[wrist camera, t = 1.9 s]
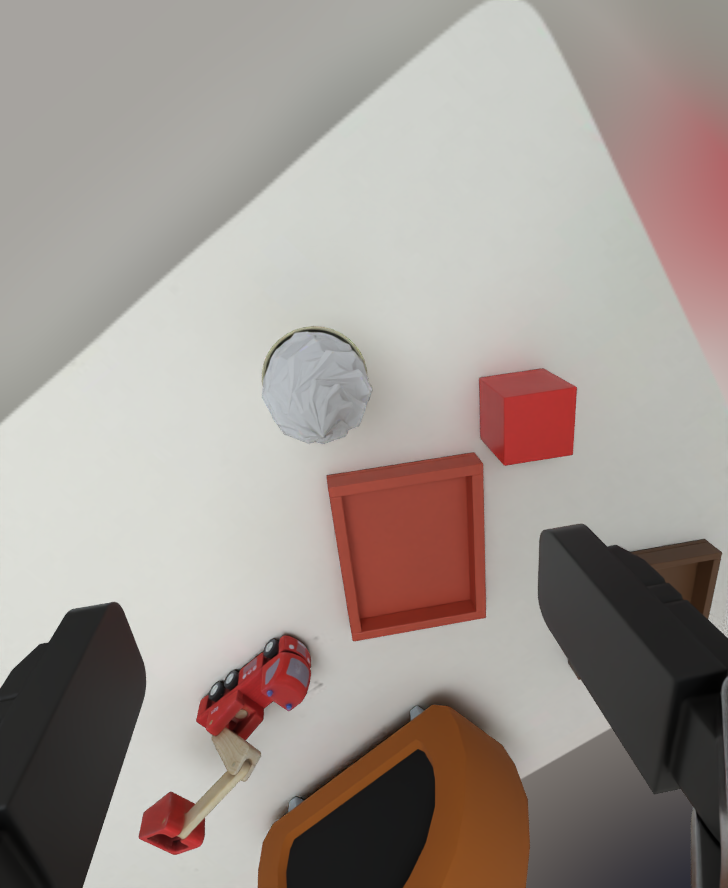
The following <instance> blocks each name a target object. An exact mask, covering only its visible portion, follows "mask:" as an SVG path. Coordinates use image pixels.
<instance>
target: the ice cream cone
mask: <svg viewBox="0 0 728 888" xmlns="http://www.w3.org/2000/svg"><path fill="white" fill-rule="evenodd" d="M262 385H263V393H262V398H263V400H264V402H265V404H266V406H267V408H268V409H269V411H270V413H271V415H272V417H273V420H274V421H275V422H276V424H277V425H278V426H279V428H280V429H281V430H282V432H283V433H284V434H285V435H288V436H290V437H293V438H295V439H298V440H301V441H303V442H306V443H313V442H317V443H321V444H325V443H328V442H331V441H334V440H337V439H340V438H342V437H345V436H346V435H347V433H348V430H350V429H353V428H355V427H358V426H359V425H360V422H361V420H362V417H363V414H364V412H365V409H366V405H367V402H368V401H369V399H370V395H371V392H372V387H371V385H370V383H369V382H368V377H367V368H366V365H365V361H364V359H363V356H362V354H361V352H360V351H359V349H358V348H357V347H356V345H355V344H354V343H353V342H352V341H351V340H350V339H349V338H347V337H346V336H344V335H343V334H341V333H339V332H337V331H335V330H333V329H329V328H325V327H316V326H312V327H303V328H300V329H297V330H294V331H292V332H290V333H288V334H286V335H285V336H283V337H282V338H280V339H279V340H278V341H277V342H276V343H275V344H274V345H273V346H272V348H271V349H270V351H269V353H268V354H267V356H266V359H265V361H264V364H263V369H262Z"/></svg>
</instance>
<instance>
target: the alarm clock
mask: <svg viewBox="0 0 728 888" xmlns="http://www.w3.org/2000/svg"><path fill="white" fill-rule="evenodd" d="M410 714H411V721H410V722H409V723H407V724H406V725H405V726H403V727H402V728H401V729H399V730H398V731H396V732H395V733H394V734H392V735H391V736H390V737H388V738H387V739H386V740H384V741H383V742H382V743H380V744H379V745H378V746H376V747H375V748H374V749H372V750H371V751H370V752H368V753H367V754H366V755H364V756H363V757H362V758H360V759H359V760H358V761H356V762H355V763H354V764H352V765H351V766H350V767H348V768H347V769H346V770H344V771H343V772H342V773H340V774H339V775H338V776H336V777H335V778H334V779H332V780H331V781H330V782H328V783H327V784H326V785H324V786H323V787H322V788H320V789H319V790H318V791H316V792H315V793H314V794H312V795H311V796H310V797H308V798H307V799H306V800H302V799H300V798H298V797H297V796H296V797H295V798H293V799H292V800H291V801H290V802H289V810H288V813H287V814H286V815H284V816H283V817H282V818H280V819H279V820H278V821H276V822H275V823H274V824H273V825H272V827H271V828H270V830H269V832H268V834H267V836H266V838H265V839H264V841H263V845H262V851H261V857H260V863H259V869H258V888H526V878H527V870H528V860H529V849H530V839H529V818H528V799H527V796H526V793H525V791H524V788H523V785H522V782H521V780H520V777H519V774H518V771H517V769H516V766H515V764H514V762H513V761H512V759H511V758H510V756H509V755H508V753H507V752H506V750H505V749H504V747H503V746H502V745H501V744H500V743H499V742H497V741H496V740H495V739H493V738H492V737H490V736H489V735H488V734H486V733H485V732H484V731H482V730H481V729H480V728H478V727H477V726H476V725H474V724H473V723H472V722H470V721H469V720H468V719H466V718H465V717H464V716H462V715H461V714H459V713H458V712H457V711H455V710H454V709H453V708H451V707H449V706H442V705H431V706H430V707H429V708H427V709H426V710H425V711H424V710H423V709H421V708H420V707H419V706H416V707H414V708H413V709H412V710H410Z"/></svg>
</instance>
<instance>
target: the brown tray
mask: <svg viewBox="0 0 728 888" xmlns="http://www.w3.org/2000/svg"><path fill="white" fill-rule="evenodd" d="M631 553H633V554H635V555H637V556H639V557H640V558H642V559H644V560H645V561H646V562H647V563H648V564H650V565H651V566H652V567H653V568H654V569H655V570H656V571H657V572H658V573H659V574H660V575H661V576H662V577H663V578H664V579H665V582H666V583H670V584H671V585H672V586H673V587H674V588H675V589H676V590H677V591H678V592H679V593H680V594H681V595H682V598H683V599H684V600H688V601H689V602H690V603H691V604H692V605H693V606H694V607H695V608H696V609H697V610H698V611H699V612H700V613H701V614H703V615H704V616H705V617H706V618H707V619H708V617H709V613H710V608H711V603H712V598H713V594H714V589H715V584H716V579H717V575H718V570H719V565H720V560H721V555H722V552H721V551H720V550H718V549H717V548H716V547H714V546H713V545H712V544H710V543H709V542H708V541H707V540H705V539H703V540H697V541H691V542H685V543H680V544H674V545H668V546H662V547H657V548H651V549H645V550H639V551H634V552H631ZM568 664H569V665H570V667H571V668H572V670H573V671H574V673H575V675H576V676H577V678H578V679H579V680H580V677H579V675H578V674H577V672H576V671H575V669H574V668H573V666H572V664H571V663H570V661H569V660H568Z"/></svg>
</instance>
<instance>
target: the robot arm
mask: <svg viewBox="0 0 728 888" xmlns="http://www.w3.org/2000/svg"><path fill="white" fill-rule="evenodd" d="M538 600H539V605H540V609H541V613H542V616H543V618H544V621H545V623H546V625H547V626H548V628H549V630H550V631H551V633H552V634H553V636H554V638H555V639H556V641H557V642H558V644H559V646H560V647H561V649H562V650H563V652H564V653H565V655H566V657H567V658H568V660H569V661H570V663H571V664H572V666H573V668H574V669H575V671H576V672H577V674H578V675H579V677H580V679H581V680H582V682H583V683H584V685H585V686H586V688H587V690H588V691H589V693H590V694H591V696H592V697H593V699H594V701H595V702H596V704H597V705H598V707H599V709H600V710H601V712H602V713H603V715H604V716H605V718H606V720H607V721H608V723H609V724H610V726H611V727H612V729H613V731H614V732H615V734H616V735H617V737H618V738H619V740H620V742H621V743H622V745H623V746H624V748H625V749H626V751H627V752H628V754H629V756H630V757H631V759H632V760H633V762H634V764H635V765H636V767H637V768H638V770H639V771H640V773H641V775H642V776H643V778H644V779H645V781H646V782H647V784H648V786H649V787H650V789H651V790H652V792H653V794H658V793H663V792H668V791H672V790H677V789H681V790H682V791H683V793H684V794H685V795H686V797H687V798H688V800H689V801H690V803H691V804H692V806H693V810H692V815H691V888H728V638H727V637H726V636H725V635H724V634H723V633H722V632H721V631H719V630H718V629H717V628H716V627H715V626H714V625H713V624H712V623H711V622H710V621H709V620H708V619H707V618H706V617H705V616H704V615H703V614H701V613H700V612H699V611H698V610H697V609H696V608H695V607H694V606H693V605H692V604H691V603H690V602H689V601H688V600H684V599H683V598H682V595H681V594H680V593H679V592H678V591H677V590H676V589H675V588H674V587H673V586H672V585H671V584H670V583H666V582H665V579H664V578H663V577H662V576H661V575H660V574H659V573H658V572H657V571H656V570H655V569H654V568H653V567H652V566H651V565H650V564H648V563H647V562H646V561H645V560H644V559H642V558H640V557H639V556H637V555H635V554H633V553H631V552H629V551H627V550H625V549H623V548H621V547H619V546H618V545H613V546H608V547H607V546H606V545H605V544H604V543H603V542H602V541H601V540H600V539H599V538H598V537H597V536H596V535H595V534H594V533H593V532H592V531H591V530H590V529H589V528H588V527H587V526H586V525H584V524H576V525H570V526H564V527H558V528H553V529H547V530H543V531H542V532H541V535H540V541H539V571H538ZM145 690H146V672H145V666H144V662H143V659H142V657H141V654H140V652H139V649H138V647H137V644H136V642H135V639H134V636H133V634H132V631H131V629H130V626H129V624H128V621H127V619H126V616H125V613H124V611H123V609H122V607H121V606H120V605H119V604H118V603H117V602H111V603H105V604H99V605H94V606H88V607H82V608H76V609H72V610H70V611H69V612H67V614H66V615H65V616H64V618H63V620H62V621H61V623H60V625H59V626H58V628H57V630H56V631H55V633H54V635H53V636H52V638H51V640H50V641H49V643H43V644H39V645H38V646H37V647H36V648H35V649H34V650H33V651H32V652H31V653H30V654H29V655H28V656H27V657H26V658H24V659H23V660H22V661H21V662H20V663H19V664H18V665H17V666H16V667H15V668H14V669H13V670H12V671H11V673H10V674H9V676H8V677H7V679H6V680H5V682H4V684H3V685H2V687H1V688H0V888H83V885H84V882H85V878H86V875H87V872H88V869H89V866H90V863H91V860H92V857H93V854H94V851H95V848H96V845H97V842H98V839H99V835H100V832H101V829H102V826H103V823H104V820H105V817H106V814H107V811H108V808H109V805H110V802H111V799H112V795H113V792H114V789H115V786H116V783H117V780H118V777H119V774H120V771H121V768H122V765H123V762H124V759H125V755H126V752H127V749H128V746H129V743H130V740H131V737H132V734H133V731H134V728H135V725H136V722H137V719H138V716H139V712H140V709H141V706H142V703H143V700H144V696H145Z"/></svg>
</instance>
